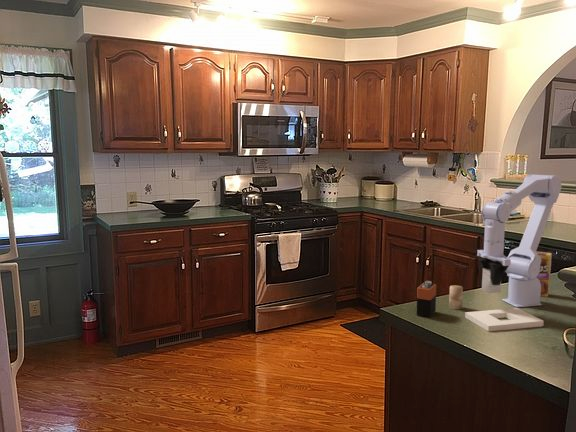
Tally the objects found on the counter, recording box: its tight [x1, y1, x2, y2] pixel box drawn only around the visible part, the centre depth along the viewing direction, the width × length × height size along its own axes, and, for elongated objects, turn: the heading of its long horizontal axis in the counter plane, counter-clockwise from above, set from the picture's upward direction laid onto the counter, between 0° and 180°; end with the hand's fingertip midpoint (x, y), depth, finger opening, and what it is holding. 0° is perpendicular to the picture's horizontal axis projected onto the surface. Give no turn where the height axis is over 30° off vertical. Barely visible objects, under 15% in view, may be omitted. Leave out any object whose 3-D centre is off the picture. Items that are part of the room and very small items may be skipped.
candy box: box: [536, 250, 553, 297], centre depth 174 cm, size 9×4×15 cm, turn 56°
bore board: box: [464, 307, 545, 332], centre depth 148 cm, size 18×12×2 cm, turn 102°
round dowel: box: [448, 284, 464, 311], centre depth 161 cm, size 4×4×7 cm
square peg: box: [481, 268, 502, 294], centre depth 156 cm, size 4×4×7 cm
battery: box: [416, 280, 437, 318], centre depth 155 cm, size 4×7×10 cm, turn 148°
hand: (491, 282), depth 156 cm, fingers closed on square peg, 4 cm apart
